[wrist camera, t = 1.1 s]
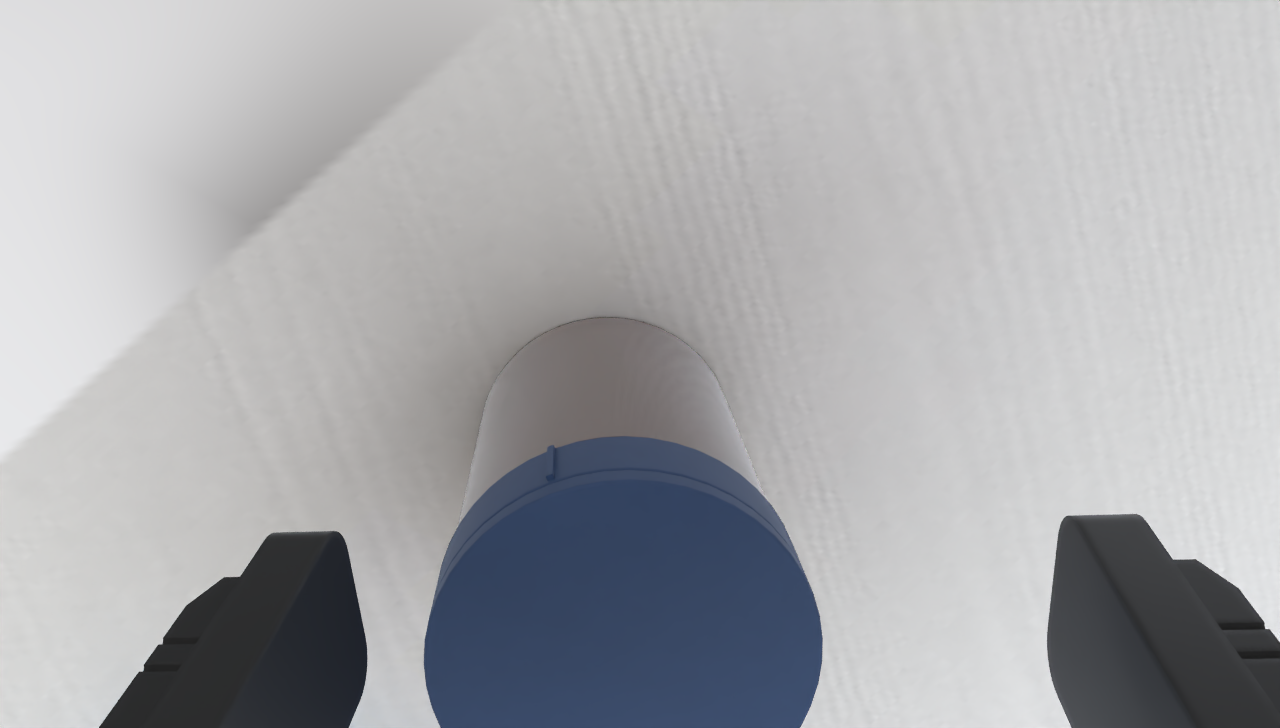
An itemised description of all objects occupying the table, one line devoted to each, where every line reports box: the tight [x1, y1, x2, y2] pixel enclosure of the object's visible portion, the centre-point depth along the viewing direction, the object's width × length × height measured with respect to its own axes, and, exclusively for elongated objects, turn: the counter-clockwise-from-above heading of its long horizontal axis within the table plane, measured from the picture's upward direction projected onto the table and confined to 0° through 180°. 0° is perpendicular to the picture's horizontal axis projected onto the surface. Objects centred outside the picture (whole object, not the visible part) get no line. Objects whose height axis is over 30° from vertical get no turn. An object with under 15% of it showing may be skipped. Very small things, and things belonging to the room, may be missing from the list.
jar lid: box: [424, 436, 823, 728], centre depth 17 cm, size 6×6×2 cm
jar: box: [458, 317, 767, 526], centre depth 20 cm, size 6×6×8 cm
